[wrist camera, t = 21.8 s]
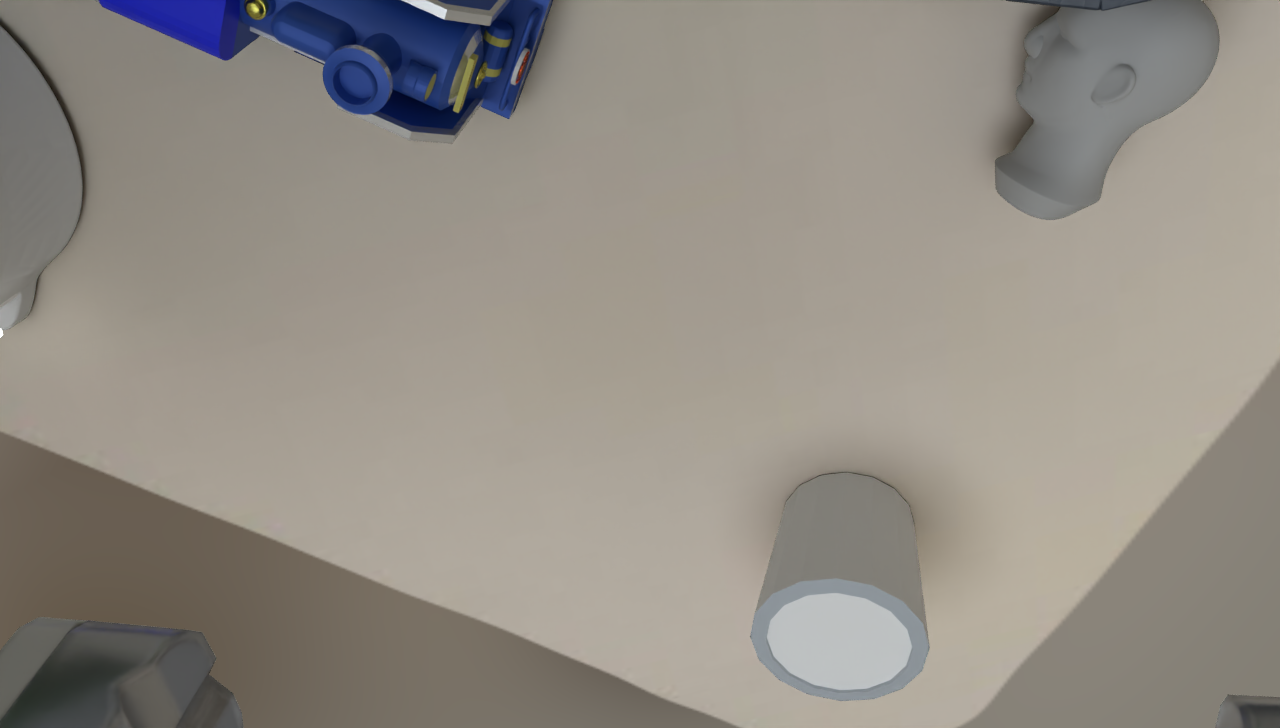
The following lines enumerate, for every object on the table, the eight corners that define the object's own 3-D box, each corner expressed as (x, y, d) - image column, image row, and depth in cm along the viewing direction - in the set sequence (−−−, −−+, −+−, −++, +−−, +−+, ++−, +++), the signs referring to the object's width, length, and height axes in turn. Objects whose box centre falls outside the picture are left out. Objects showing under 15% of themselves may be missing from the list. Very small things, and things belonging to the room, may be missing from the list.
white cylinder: (891, 598, 54) (887, 724, 48) (747, 549, 54) (727, 669, 48) (955, 493, 50) (959, 618, 44) (800, 439, 50) (784, 557, 44)
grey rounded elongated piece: (1113, -75, 37) (1250, 21, 37) (957, 130, 42) (1077, 218, 41) (1095, -61, 34) (1247, 45, 33) (927, 161, 38) (1058, 257, 38)
